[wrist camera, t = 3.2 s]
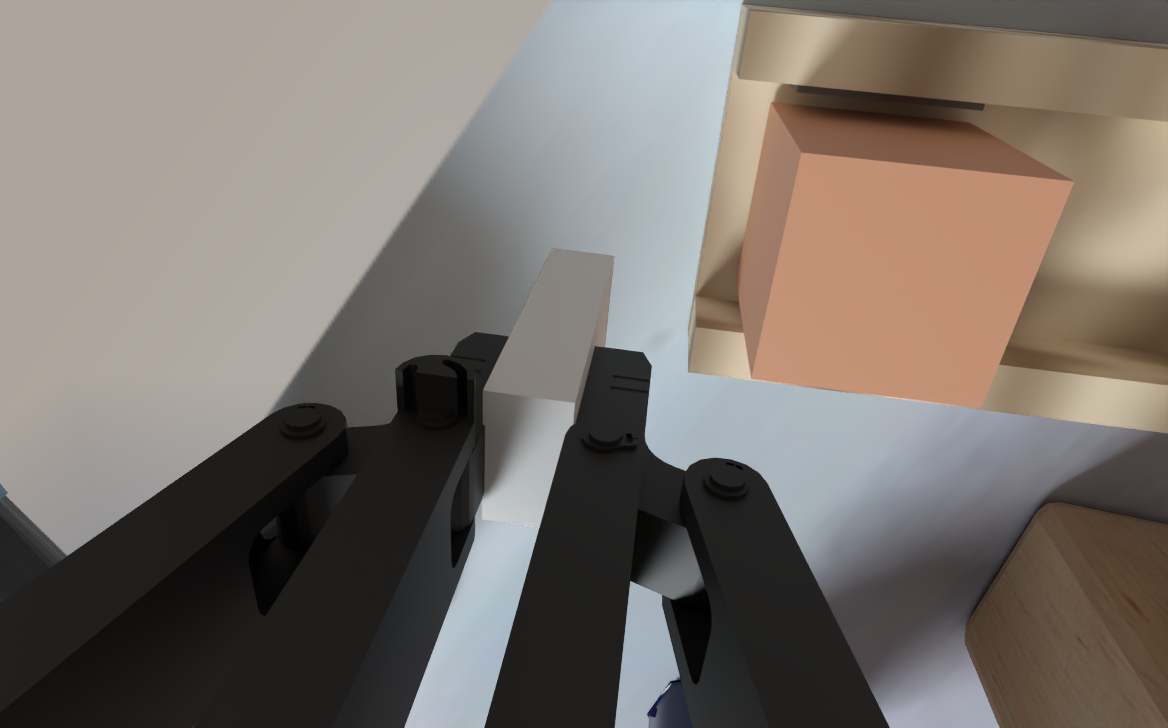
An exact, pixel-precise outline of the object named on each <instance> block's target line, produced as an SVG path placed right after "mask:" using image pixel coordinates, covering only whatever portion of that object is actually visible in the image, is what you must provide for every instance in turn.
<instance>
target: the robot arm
mask: <svg viewBox="0 0 1168 728" xmlns="http://www.w3.org/2000/svg"><path fill="white" fill-rule="evenodd" d="M613 263H614V256H610V255H602V254H594V253H586V252H577V251H569V250H561V249H553V248H552V250H551V252H550V254H549V256H548V258H547V260H546V262H545V264H544V266H543V268H542V270H541V272H540V274H539V276H538V278H537V280H536V282H535V285H534V287H533V289H532V291H531V293H530V295H529V297H528V299H527V301H526V303H525V305H524V307H523V309H522V311H521V313H520V315H519V317H518V319H517V321H516V323H515V326H514V328H513V330H512V332H511V334H510V336H509V337H508V336H501V335H493V334H485V333H478V332H475V333H473V334H471V335H470V336H468V337H466V338H465V339H463V340H462V341H460V342H458V344H457V346H456V347H455V349H454V351H453V352H452V354H451V356H447V355H428V356H421V357H416V358H413V359H411V360H408V361H406V362H403V363H402V364H401V365H400V366H399V367H398V368H396V369H395V374H396V391H397V407H398V412H397V414H396V415H395V417H394V418H393V420H392V421H391V423H389V424H385V425H378V426H367V427H350V428H347V423H346V418H345V416H344V415H343V413H342V412H341V411H340V410H338V409H336V408H334V407H332V406H330V405H324V404H318V403H308V404H307V403H303V404H297V405H293V406H289V407H286V408H283V409H281V410H279V411H277V412H275V413H273V414H271V415H269V416H268V417H266V418H265V419H264V420H262V421H261V422H259V423H258V424H256V425H255V426H254V427H252V428H251V429H249V430H248V431H246V432H245V433H243V434H242V435H241V436H239V437H238V438H236V439H235V440H234V441H232V442H231V443H229V444H228V445H226V446H225V447H223V448H222V449H220V450H219V451H218V452H216V453H215V454H213V455H212V456H210V457H209V458H208V459H206V460H205V461H203V462H202V463H200V464H199V465H198V466H196V467H195V468H193V469H192V470H190V471H189V472H187V473H186V474H185V475H183V476H182V477H180V478H179V479H178V480H176V481H175V482H173V483H172V484H170V485H169V486H167V487H166V488H164V489H163V490H162V491H160V492H159V493H157V494H156V495H155V496H153V497H152V498H150V499H149V500H147V501H146V502H144V503H143V504H141V505H140V506H139V507H137V508H136V509H134V510H133V511H131V512H130V513H129V514H127V515H126V516H124V517H123V518H121V519H120V520H118V521H117V522H116V523H114V524H113V525H111V526H110V527H109V528H107V529H106V530H105V531H103V532H102V533H100V534H98V535H97V536H96V537H94V538H93V539H91V540H90V541H88V542H87V543H86V544H84V545H83V546H81V547H80V548H78V549H77V550H75V551H74V552H73V553H71V554H70V555H68V556H67V555H66V554H65V553H64V552H63V551H62V550H61V549H60V548H59V547H58V546H57V545H56V544H55V543H54V542H53V541H52V540H51V539H50V538H49V537H48V536H47V535H45V534H44V532H42V531H41V530H40V529H39V528H38V527H37V526H36V525H35V524H34V523H33V522H32V521H31V520H30V519H29V518H28V517H27V516H26V515H25V514H24V513H23V512H22V511H21V510H20V509H19V508H18V507H17V506H16V505H15V504H14V503H13V502H12V501H11V500H9V498H8V497H6V496H5V495H6V494H7V493H8V492H7V491H6V490H5V489H4V488H3V487H2V485H1V484H0V728H404V726H405V724H406V721H407V718H408V716H409V713H410V710H411V708H412V705H413V702H414V700H415V697H416V694H417V692H418V689H419V686H420V684H421V681H422V678H423V676H424V673H425V670H426V668H427V665H428V662H429V660H430V657H431V654H432V651H433V649H434V646H435V643H436V641H437V638H438V635H439V633H440V630H441V627H442V625H443V622H444V619H445V617H446V614H447V611H448V609H449V606H450V603H451V601H452V598H453V595H454V593H455V590H456V587H457V584H458V582H459V579H460V576H461V574H462V571H463V568H464V566H465V563H466V560H467V558H468V555H469V552H470V550H471V547H472V544H473V542H474V536H475V515H476V512H477V510H478V507H479V504H480V502H481V499H482V519H483V520H489V521H496V522H503V523H509V524H516V525H523V526H529V527H536V528H539V531H538V535H537V539H536V542H535V546H534V549H533V553H532V557H531V560H530V564H529V568H528V571H527V575H526V579H525V582H524V586H523V589H522V593H521V597H520V600H519V604H518V608H517V611H516V615H515V619H514V622H513V626H512V629H511V633H510V637H509V640H508V644H507V648H506V651H505V655H504V658H503V662H502V666H501V669H500V673H499V677H498V680H497V684H496V688H495V691H494V695H493V698H492V702H491V706H490V709H489V713H488V717H487V720H486V724H485V728H615V719H616V709H617V700H618V691H619V681H620V672H621V662H622V653H623V643H624V634H625V625H626V615H627V606H628V596H629V587H630V581H632V582H634V583H636V584H639V585H641V586H643V587H646V588H648V589H650V590H652V591H655V592H657V593H659V594H661V595H662V606H663V610H664V614H665V618H666V622H667V626H668V630H669V634H670V638H671V642H672V646H673V650H674V654H675V658H676V662H677V666H678V670H679V674H680V678H681V682H682V686H683V690H684V694H685V698H686V702H687V706H688V710H689V714H690V718H691V722H692V726H693V728H890V727H889V725H888V723H887V721H886V719H885V717H884V715H883V713H882V711H881V709H880V707H879V705H878V703H877V701H876V699H875V697H874V695H873V693H872V691H871V689H870V687H869V685H868V683H867V681H866V679H865V677H864V675H863V673H862V671H861V669H860V667H859V665H858V663H857V661H856V659H855V657H854V655H853V653H852V651H851V649H850V647H849V645H848V643H847V641H846V639H845V637H844V635H843V633H842V631H841V629H840V627H839V625H838V623H837V621H836V619H835V617H834V615H833V613H832V611H831V609H830V607H829V605H828V603H827V601H826V599H825V597H824V595H823V593H822V591H821V589H820V587H819V585H818V583H817V581H816V579H815V577H814V575H813V573H812V571H811V569H810V567H809V565H808V563H807V561H806V559H805V557H804V555H803V553H802V551H801V549H800V547H799V545H798V543H797V541H796V539H795V537H794V535H793V533H792V531H791V529H790V527H789V525H788V523H787V521H786V519H785V517H784V515H783V513H782V511H781V509H780V507H779V505H778V503H777V501H776V499H775V497H774V495H773V493H772V491H771V489H770V487H769V485H768V484H767V482H766V481H765V480H764V479H763V477H762V476H761V475H760V474H759V473H758V472H757V471H755V470H753V469H752V468H750V467H749V466H747V465H745V464H742V463H740V462H737V461H734V460H731V459H722V458H709V459H702V460H699V461H697V462H695V463H693V464H691V465H690V466H689V467H688V469H687V470H686V471H684V470H681V469H679V468H676V467H674V466H672V465H669V464H667V463H665V462H663V461H662V460H660V459H659V458H658V457H656V456H655V455H654V454H653V453H652V452H651V451H650V450H649V448H648V446H647V444H646V442H645V426H646V416H647V406H648V397H649V387H650V378H651V368H652V366H651V364H650V363H649V361H648V360H647V358H646V356H645V355H644V353H643V352H636V351H628V350H621V349H613V348H606V347H605V340H606V331H607V321H608V312H609V302H610V292H611V283H612V273H613Z"/></svg>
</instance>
